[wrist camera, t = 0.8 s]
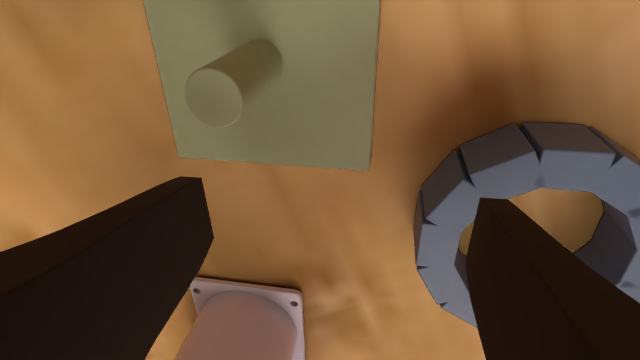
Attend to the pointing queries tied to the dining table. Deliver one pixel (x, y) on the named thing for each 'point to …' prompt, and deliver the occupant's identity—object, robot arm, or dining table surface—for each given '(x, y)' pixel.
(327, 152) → the post
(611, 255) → the ring
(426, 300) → the dining table surface
